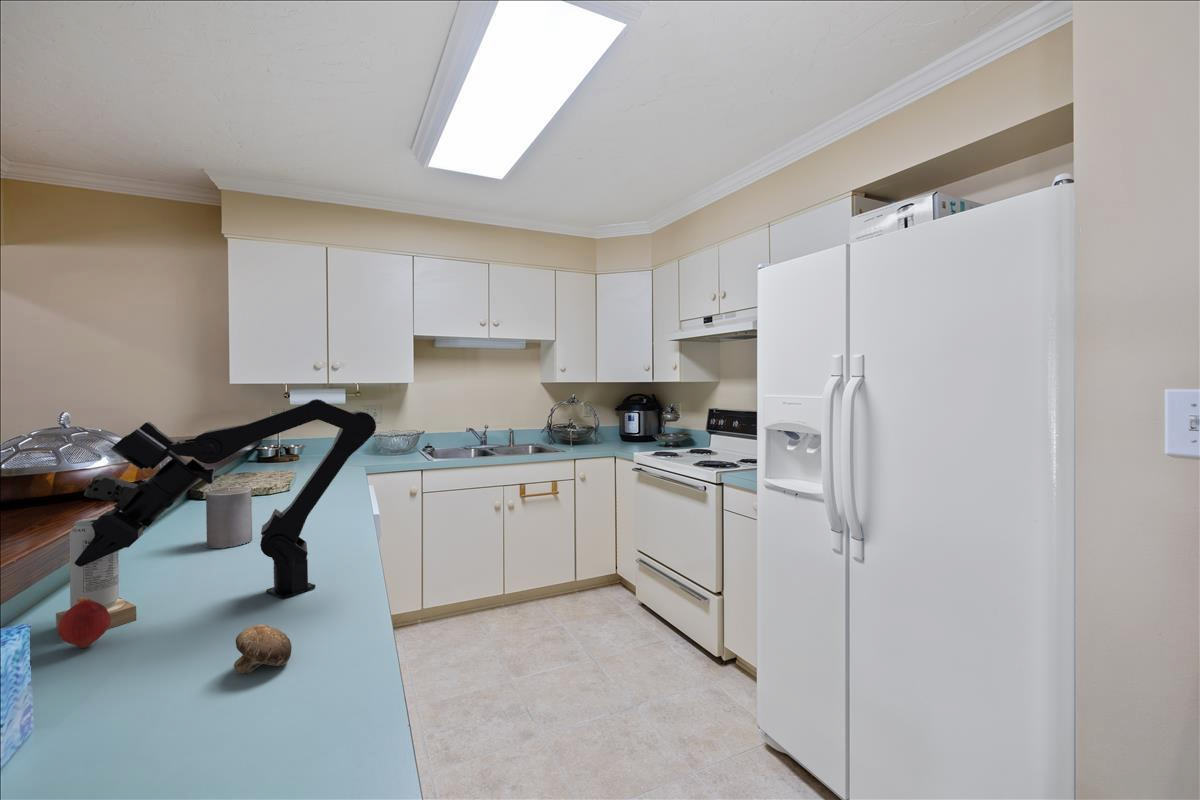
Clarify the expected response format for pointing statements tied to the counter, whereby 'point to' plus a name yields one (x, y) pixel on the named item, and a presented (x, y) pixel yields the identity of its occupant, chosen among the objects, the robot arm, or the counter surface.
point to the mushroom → (261, 648)
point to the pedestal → (113, 613)
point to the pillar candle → (228, 517)
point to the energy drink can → (92, 569)
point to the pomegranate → (84, 623)
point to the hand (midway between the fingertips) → (84, 558)
